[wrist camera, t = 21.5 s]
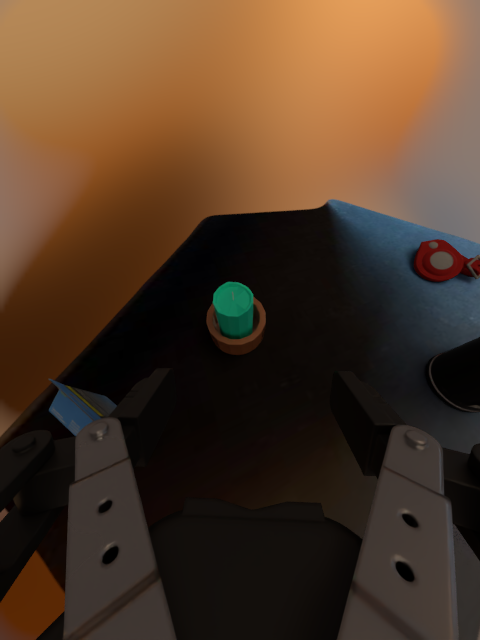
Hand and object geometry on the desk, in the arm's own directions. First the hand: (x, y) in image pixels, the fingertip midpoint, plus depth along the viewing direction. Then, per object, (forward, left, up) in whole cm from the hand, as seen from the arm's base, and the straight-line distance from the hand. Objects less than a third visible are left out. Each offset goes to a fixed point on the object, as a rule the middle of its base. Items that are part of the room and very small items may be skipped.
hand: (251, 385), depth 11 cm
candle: (-9, -13, -27) cm, 31 cm away
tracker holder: (-49, +7, -27) cm, 57 cm away
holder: (-9, -13, -27) cm, 31 cm away
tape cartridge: (+16, -15, -27) cm, 35 cm away
